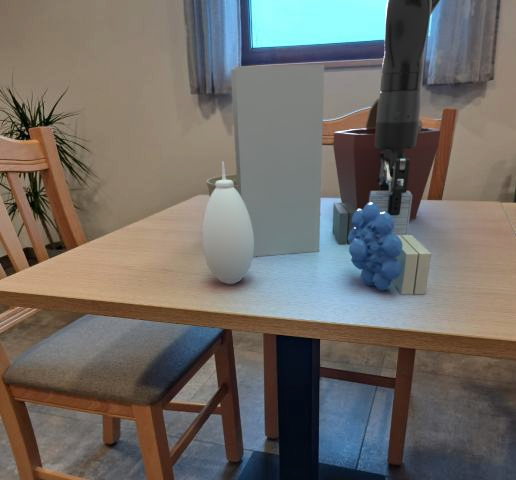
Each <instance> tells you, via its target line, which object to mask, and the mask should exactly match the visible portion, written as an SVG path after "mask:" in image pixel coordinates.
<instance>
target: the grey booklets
mask: <svg viewBox="0 0 516 480" xmlns="http://www.w3.org/2000/svg"><path fill="white" fill-rule="evenodd" d="M332 207H333V208H332V209H333V210H332V234H333V236H334V238H335V240H336V242H337V244H338V245H350V243H349V241H348V235H349V232H350V230H351V229H352V228H353V227H354V225H353V224H352V217H353V215H354V213H355V212H356V210H355V209H354V207H353V206H352V205H351V203H341V202H333V206H332Z"/></svg>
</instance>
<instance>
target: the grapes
mask: <svg viewBox="0 0 516 480" xmlns="http://www.w3.org/2000/svg"><path fill="white" fill-rule="evenodd" d="M352 224H353V225H354V227H353V228H352V229H351V230H350V232H349V235H348V241H349V243H350V244H349V248H348V253H349V255H350V256H351V263H352V265H353V266H354V267H355V268H356V269H359V270H360V271H361V273H360V278H361V280H362V281H363V283H364V284H365V285H367V286H369V287H376V288H377V289H378V290H380V291H388V289H390V287H391V285H392V283H393V281H392V280H393V279H396V278H397V277H399V275H400V273H401V264H400V262H399V261H398V260H397V259H396V258H395V257H397V256H399V255H400V253H401V251H402V246H403V245H402V241H401V239H400V238H399V237H398V236H397V235H395V234H391V233H392V231H393V229H394V225H395V223H394V220H393V218H392V217H391V215H390V214H388V213H386V212H381V210H380V208H379V207H378V206H377V204H374V203H368V204H367V205H366V206H365V207H364V209H358V210H357V211H356V212H355V213H354V215H353V217H352Z"/></svg>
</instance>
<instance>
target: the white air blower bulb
mask: <svg viewBox="0 0 516 480" xmlns="http://www.w3.org/2000/svg"><path fill="white" fill-rule="evenodd" d="M226 175H227V174H226V167H225V162H224V160H222V162H221V176H222V180H218V181H216V183H215V186H216V188H215V190H214V191H213V193H212V195H211V197H210V196H209V199H208V201H207V204H206V207H205V211H204V215H203V221H202V226H201V227H202V228H201V229H202V230H201V244H202V253H203V256H204V260H205V262H206V265H207V267H208V269H209V271H210V273H211V274H212V276H214V277H215V278H217V279H218V280H219V281H220V282H221V283H224V284H226V285H234V284H237V282H241V280H242V278H243V277H245V276H246V275H247V274H248V272H249V270H250V269H251V266H252V262H253V259H254V257H253V252H254V236H253V229H252V224H251V220H250V217H249V214H248V211H247V208H246V206H245V204H244V202H243V200H242V198H241V196H240V194H239V193H238V192H237V190H236V189H235V188H234V187H233V185H234V183H233V181H232V180H226Z"/></svg>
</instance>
